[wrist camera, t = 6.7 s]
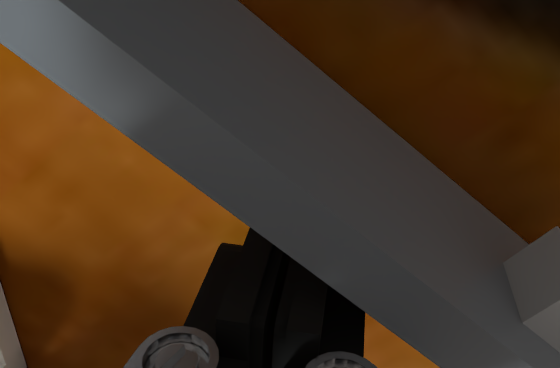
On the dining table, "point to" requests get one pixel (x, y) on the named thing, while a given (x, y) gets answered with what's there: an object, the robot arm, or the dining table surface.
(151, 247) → the dining table surface
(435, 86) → the dining table surface
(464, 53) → the dining table surface
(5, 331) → the case
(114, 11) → the side door
